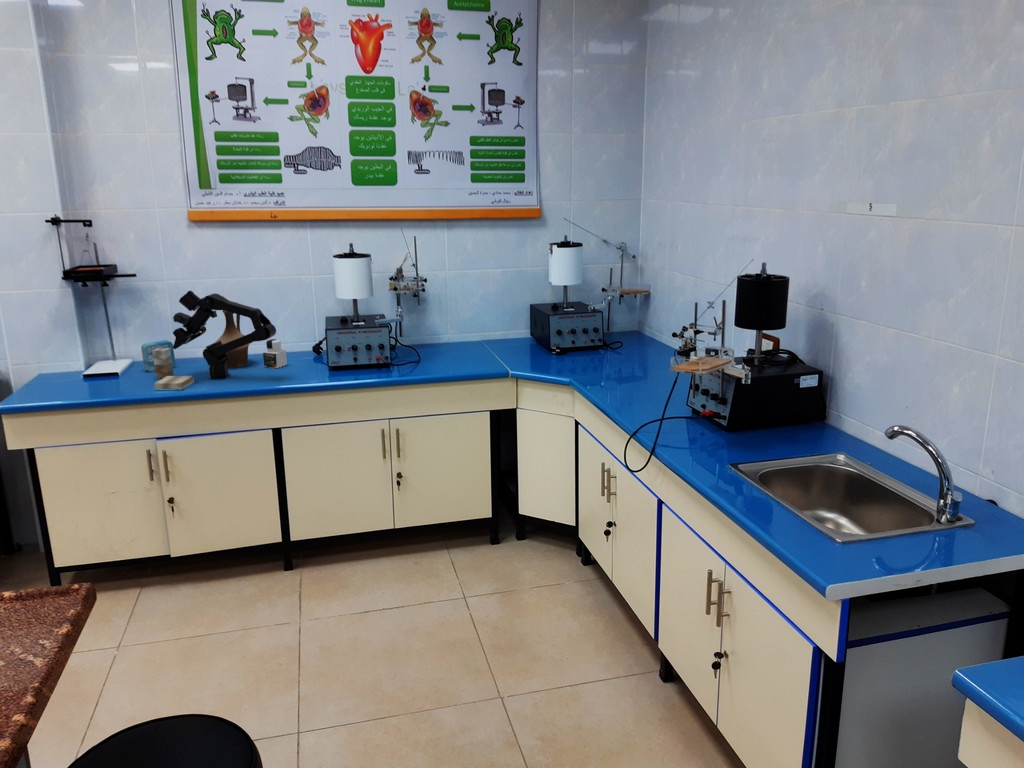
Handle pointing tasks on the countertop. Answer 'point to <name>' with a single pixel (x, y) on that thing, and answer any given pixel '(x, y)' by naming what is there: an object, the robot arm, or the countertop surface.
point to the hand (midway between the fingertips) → (179, 346)
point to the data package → (148, 353)
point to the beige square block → (174, 382)
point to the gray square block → (162, 362)
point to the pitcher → (240, 354)
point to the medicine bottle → (274, 354)
